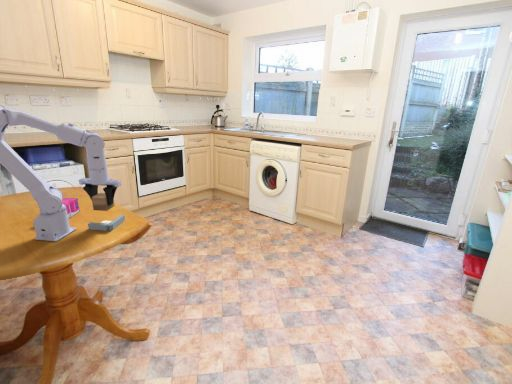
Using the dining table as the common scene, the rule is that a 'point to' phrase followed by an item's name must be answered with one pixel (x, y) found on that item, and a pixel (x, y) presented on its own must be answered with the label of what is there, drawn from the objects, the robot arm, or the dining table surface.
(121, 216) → the grey flat angled piece
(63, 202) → the supplement box
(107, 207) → the walnut cube
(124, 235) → the dining table surface
